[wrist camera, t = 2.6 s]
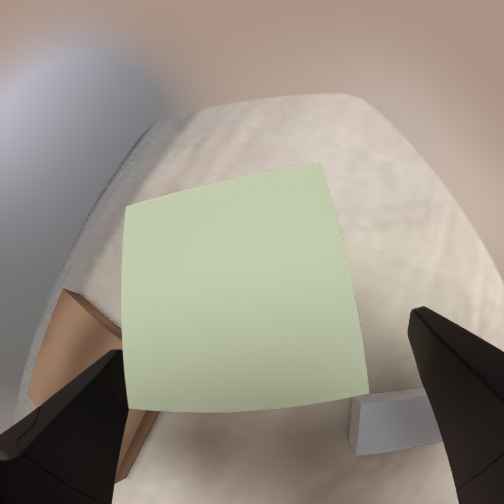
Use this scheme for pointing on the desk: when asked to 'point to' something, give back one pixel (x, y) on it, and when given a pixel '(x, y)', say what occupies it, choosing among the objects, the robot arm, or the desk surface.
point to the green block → (239, 298)
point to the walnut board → (83, 364)
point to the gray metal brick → (392, 422)
